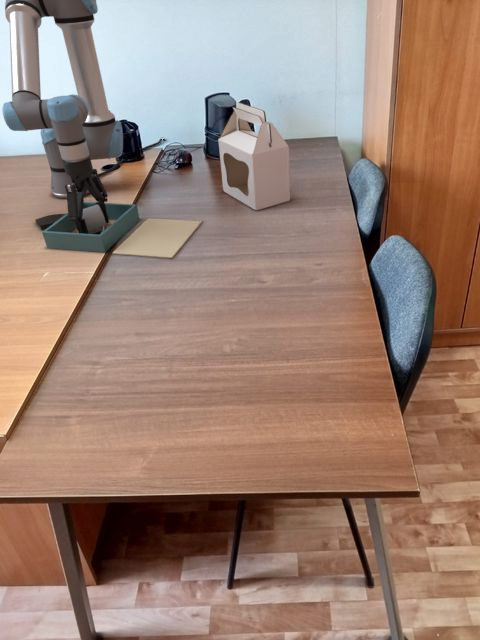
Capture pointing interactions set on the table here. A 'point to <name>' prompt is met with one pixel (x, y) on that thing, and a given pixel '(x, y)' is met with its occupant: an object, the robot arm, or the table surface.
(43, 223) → the dark sector wedge
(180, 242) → the mat
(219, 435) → the table surface
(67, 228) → the teal rectangular frame
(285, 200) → the gable box
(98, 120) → the robot arm
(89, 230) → the ceramic mug
